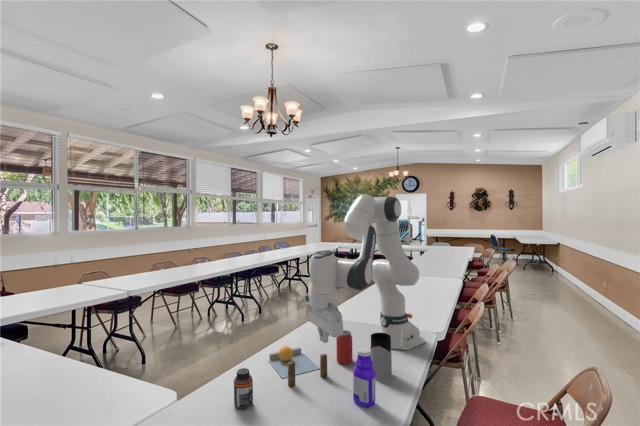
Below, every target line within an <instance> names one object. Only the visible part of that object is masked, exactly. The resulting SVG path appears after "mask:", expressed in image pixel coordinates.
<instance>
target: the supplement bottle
mask: <svg viewBox="0 0 640 426" xmlns="http://www.w3.org/2000/svg"><path fill="white" fill-rule="evenodd" d="M253 383H254V382H253V376H252V375H251V374H250V369H249V368H248V367H247V368H246V367H243V368H239V369H237V371H236V376H235V377H234V380H233V402H234V403H233V405H234V408H235V409H237V410H239V411H240V410H241V411H245V410H248V409H249V408H251V407H252V406H253V404H254V392H253V391H254V387H253V386H254V385H253Z"/></svg>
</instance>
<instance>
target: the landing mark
mask: <svg viewBox="0 0 640 426" xmlns="http://www.w3.org/2000/svg"><path fill="white" fill-rule="evenodd" d="M291 361H293V362H295V376H298V375H302V374H306V373H310V372H314V371H317V370H320V366H318V365H317V364H316V363H314V362H313V360H311V359H310V357H308V356H307V355H306V353H304V352H303V353H302V352H301V354H298V355H294V356H292V358H291V359H290V360H289V361H287V362H284V361H282V360H281V359H276V360H272V361H270V360H268V361H267V362H268V363H269V365H271V367H272V368H273V369H274V371H275V372H276V373H277V374H278V376H279V377H280V378H281V379H282V380H283V379H286V378H287V379H288V362H291Z"/></svg>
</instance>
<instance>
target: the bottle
mask: <svg viewBox="0 0 640 426" xmlns="http://www.w3.org/2000/svg"><path fill="white" fill-rule="evenodd" d="M372 366H373V362H372V360H371V354H370V348H367V347H360V348H358V349H357V359H356V361H355V367H354V369H353V372H352V373H353V377H352V383H353V386H352V393H353V395H352V397H353V401H354V403H355V404H356V405H358V406H360V407H362V408H365V409H369V408H371V407H373V406H374V404H375V403H376V380H375V371H374V369H373V367H372Z"/></svg>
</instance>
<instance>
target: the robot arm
mask: <svg viewBox="0 0 640 426" xmlns="http://www.w3.org/2000/svg"><path fill="white" fill-rule="evenodd" d="M401 214H402V205H401V202H400V200H399V199H398V198H397V197H395V196H372V195H369V194H360V195H358V196H357V197H356V198H355V199H354V201H353V202H352V203H351V205H350V206H349V208H348V210H347V212H346V214H345V217H344V219H343V228H344V230H345V232H346V233H347V235H348V236H349V237H351V238H352V239H354V240H356V241H359V242H361V247H360V252H359V257H357V258H355V259H352V258H351V259H349V258H341V257H337V256H335V253H334V251H333V250H332V251H331V250H319V251H316V252H314V253H312V256H311V259H310V266H309V267H310V268H309V280H310V285H311V286H310V289H309V292H310V293H309V294H305V295H304V301H305V317H306V319H307V321H308V322H310V323H311V324H313V325H314V326H316V327H317V331H318V336H319V340H320V342H322V343H324V344H327V343H329V337H332V338H336V337H339V336H342V335H343V330H344V322H343V315H342V313H341V311H340V310H339V307H338V306H337V305H338V302H337V301H338V297H337V296H338V294H337V292H338V291H337V287H336V286H338V287H341V288H342V287H344V288H350V289H353V290H358V291H362V290H364V289H366V288H367V287H368V286H370V284H371V283H372V281H373V282H374V283H375V285H376V288H377V289H378V292H379V295H380V296H379V297H380V309H381V311H380V316H379V317H380V318H379V319H380V331H379V333H384V332H386V334H389V335H390V336H391V350H392V349H393V350H402V351H409V350H411V349H414V348H416V347H419V346H421V345H423V344H425V343H426V340H425V338H424V337H422V336H421V333H420V330H419V328H418V327H417V326H416V325H415V324H414V323H413V322H411V321H410V320H409V319H413V314H411V313H410V312H408V313H406V298H405V295H404V293H402V292H401V291H400V290H399V289H398V287H397V286H400V287H401V286H402V287H410V286H416V284H417V283H418V282H419V279H420V271H419V268H418V266H417V265H416V264H414V263H413V262H412V261H411V260H410V259H409V257H408V256H407V254H406V253H405V250H404V248H403V244H402V240H401V239H402V238H401V233H400V225H399V221H398V219H400V216H401ZM373 224H374V226H373ZM376 247H377V250H378V252H379V253H380V254H382V255H383V256H384V257H385V258H378V259H374V258H375V250H376Z"/></svg>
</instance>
